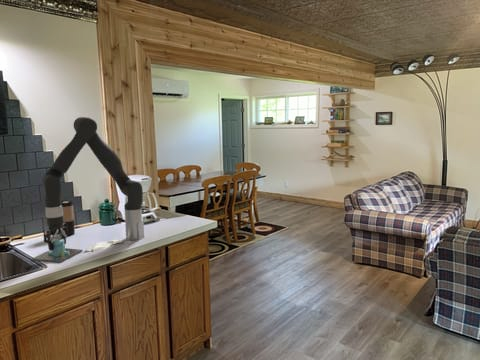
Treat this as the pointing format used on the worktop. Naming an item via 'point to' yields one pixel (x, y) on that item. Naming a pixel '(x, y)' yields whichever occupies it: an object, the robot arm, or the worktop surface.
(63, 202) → the travel mug
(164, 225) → the worktop surface
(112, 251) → the worktop surface
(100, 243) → the cloth
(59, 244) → the teal cap
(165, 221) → the worktop surface
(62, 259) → the plate
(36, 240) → the worktop surface
